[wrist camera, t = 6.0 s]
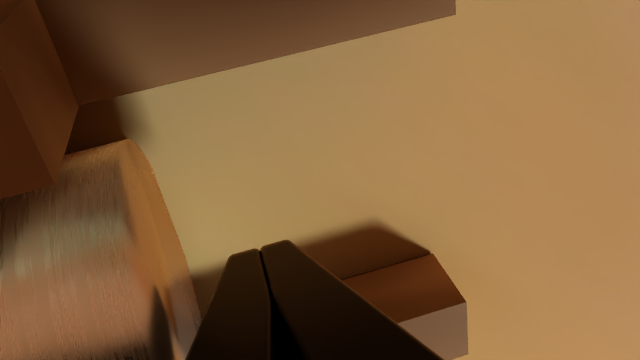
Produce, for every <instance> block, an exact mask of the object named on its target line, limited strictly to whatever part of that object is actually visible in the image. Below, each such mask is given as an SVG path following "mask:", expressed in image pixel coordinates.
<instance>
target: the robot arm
mask: <svg viewBox="0 0 640 360" xmlns="http://www.w3.org/2000/svg"><path fill="white" fill-rule="evenodd" d="M185 360H444V359H443V358H442V357H440V356H439V355H438V354H436V353H435V352H434V351H432V350H431V349H430V348H429V347H427V346H426V345H425V344H423V343H422V342H421V341H420V340H418V339H417V338H416V337H414V336H413V335H412V334H410V333H409V332H408V331H407V330H405V329H404V328H403V327H401V326H400V325H399V324H397V323H396V322H395V321H394V320H392V319H391V318H390V317H388V316H387V315H386V314H384V313H383V312H382V311H381V310H379V309H378V308H377V307H375V306H374V305H373V304H371V303H370V302H369V301H368V300H366V299H365V298H364V297H362V296H361V295H360V294H358V293H357V292H356V291H355V290H353V289H352V288H351V287H349V286H348V285H347V284H345V283H344V282H343V281H342V280H340V279H339V278H338V277H336V276H335V275H334V274H332V273H331V272H330V271H329V270H327V269H326V268H325V267H323V266H322V265H321V264H319V263H318V262H317V261H316V260H314V259H313V258H312V257H310V256H309V255H308V254H306V253H305V252H304V251H303V250H301V249H300V248H299V247H297V246H296V245H295V244H293V243H292V242H291V241H289V240H283V241H279V242H276V243H272V244H269V245H265V246H263V247H262V248H261V250H260V251H259V250H258V249H251V250H247V251H244V252H240V253H236V254H233V255H231V256H230V257H229V258H228V261H227V263H226V265H225V268H224V270H223V272H222V275H221V277H220V279H219V282H218V284H217V286H216V289H215V291H214V293H213V296H212V298H211V300H210V303H209V305H208V307H207V310H206V312H205V314H204V317H203V319H202V321H201V324H200V326H199V328H198V331H197V333H196V335H195V338H194V340H193V342H192V345H191V347H190V349H189V352H188V354H187V356H186V359H185Z"/></svg>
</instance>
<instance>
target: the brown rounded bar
mask: <svg viewBox="0 0 640 360" xmlns="http://www.w3.org/2000/svg"><path fill="white" fill-rule="evenodd" d="M200 324H201V316H200V312H199V308H198V303H197V299H196V295H195V291H194V287H193V283H192V280H191V276H190V272H189V269H188V265H187V261H186V258H185V255H184V252H183V250H182V247H181V244H180V242H179V239H178V236H177V234H176V231H175V228H174V225H173V223H172V220H171V217H170V215H169V212H168V209H167V207H166V204H165V201H164V199H163V196H162V193H161V190H160V188H159V185H158V182H157V180H156V177H155V174H154V172H153V169H152V167H151V165H150V163H149V162H148V160H147V158H146V156H145V155H144V153H143V152H142V150H141V149H140V148H139V147H138V145H137V144H136V143H135V142H133V141H132V140H129V139H125V140H122V141H118V142H114V143H110V144H106V145H102V146H98V147H94V148H90V149H86V150H82V151H78V152H74V153H70V154H66V155H64V157H63V161H62V164H61V167H60V171H59V174H58V177H57V181H56V184H55V185H53V186H49V187H45V188H41V189H37V190H33V191H30V192H26V193H22V194H18V195H14V196H10V197H6V198H2V199H0V360H185V359H186V356H187V354H188V352H189V349H190V347H191V345H192V342H193V340H194V338H195V335H196V333H197V331H198V328H199V326H200Z"/></svg>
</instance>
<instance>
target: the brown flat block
mask: <svg viewBox="0 0 640 360" xmlns="http://www.w3.org/2000/svg"><path fill="white" fill-rule="evenodd" d="M452 15H456V5H455V0H0V199H2V198H6V197H10V196H14V195H18V194H22V193H26V192H30V191H33V190H37V189H41V188H45V187H49V186H53V185H55V184H56V181H57V177H58V174H59V171H60V167H61V164H62V161H63V157H64V154H65V151H66V147H67V144H68V141H69V137H70V134H71V131H72V127H73V124H74V121H75V117H76V114H77V111H78V107H79V106H80V105H84V104H88V103H92V102H96V101H100V100H104V99H108V98H113V97H117V96H121V95H125V94H129V93H133V92H137V91H142V90H146V89H150V88H154V87H158V86H162V85H166V84H171V83H175V82H179V81H183V80H187V79H191V78H195V77H200V76H204V75H208V74H212V73H216V72H220V71H224V70H229V69H233V68H237V67H241V66H245V65H249V64H253V63H257V62H262V61H266V60H270V59H274V58H278V57H282V56H286V55H291V54H295V53H299V52H303V51H307V50H311V49H315V48H320V47H324V46H328V45H332V44H336V43H340V42H344V41H349V40H353V39H357V38H361V37H365V36H369V35H373V34H378V33H382V32H386V31H390V30H394V29H398V28H402V27H406V26H411V25H415V24H419V23H423V22H427V21H431V20H435V19H440V18H444V17H448V16H452ZM342 281H343V282H344V283H345V284H347V285H348V286H349V287H351V288H352V289H353V290H355V291H356V292H357V293H358V294H360V295H361V296H362V297H364V298H365V299H366V300H368V301H369V302H370V303H371V304H373V305H374V306H375V307H377V308H378V309H379V310H381V311H382V312H383V313H384V314H386V315H387V316H388V317H390V318H391V319H392V320H394V321H395V322H396V323H397V324H399V325H400V326H401V327H403V328H404V329H405V330H407V331H408V332H409V333H410V334H412V335H413V336H414V337H416V338H417V339H418V340H420V341H421V342H422V343H423V344H425V345H426V346H427V347H429V348H430V349H431V350H432V351H434V352H435V353H436V354H438V355H439V356H440V357H442V358H443V359H444V360H452V359H455V358H458V357H461V356H464V355H467V354H468V335H467V308H466V301H465V299H464V298H463V297H462V295H461V294H460V292H459V291H458V289H457V288H456V286H455V285H454V283H453V282H452V281H451V279H450V278H449V276H448V275H447V273H446V272H445V270H444V269H443V267H442V266H441V265H440V263H439V262H438V260H437V259H436V257H435V256H434V254H430V255H426V256H423V257H419V258H416V259H413V260H409V261H406V262H403V263H399V264H396V265H392V266H389V267H386V268H382V269H379V270H376V271H372V272H369V273H365V274H362V275H359V276H355V277H352V278H348V279H345V280H342Z"/></svg>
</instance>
